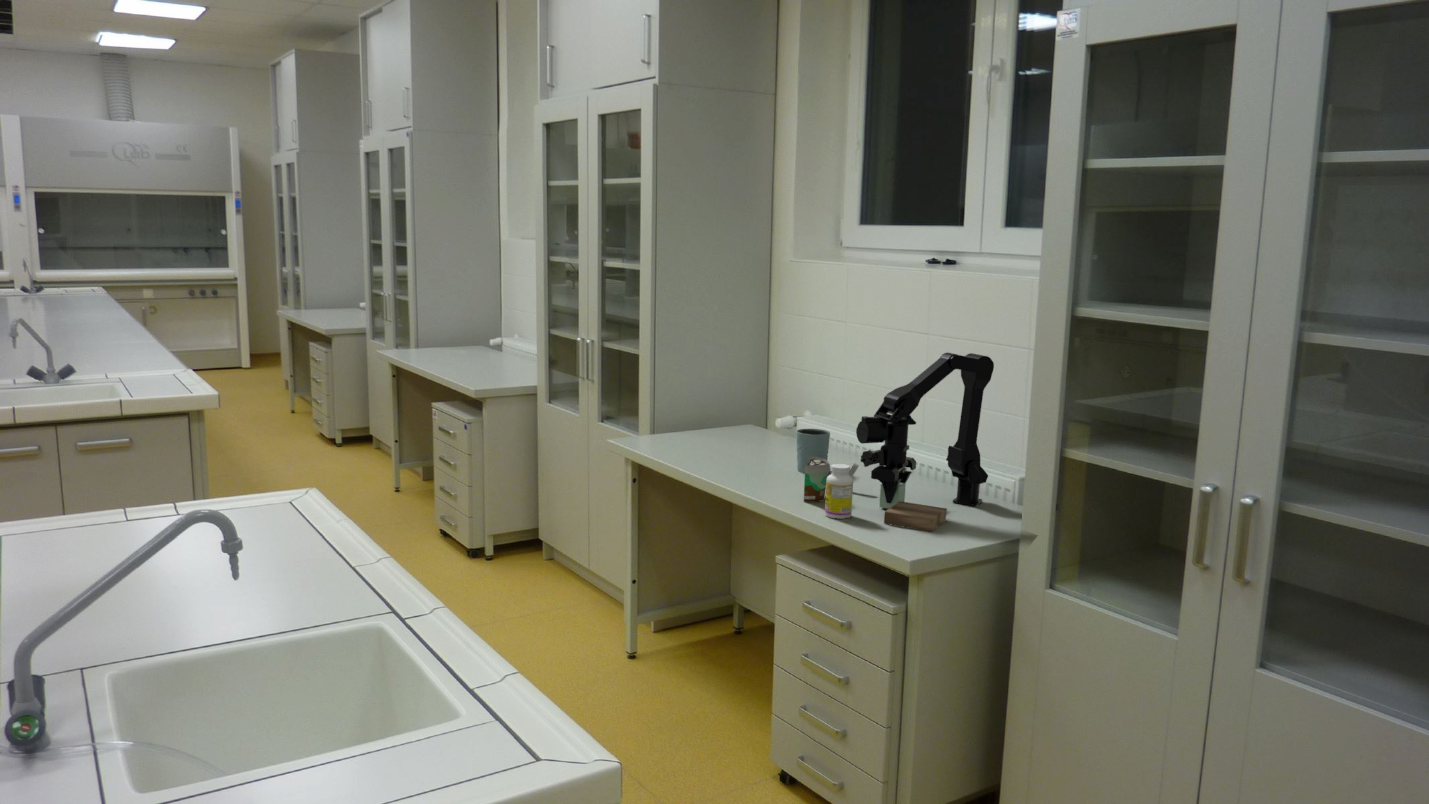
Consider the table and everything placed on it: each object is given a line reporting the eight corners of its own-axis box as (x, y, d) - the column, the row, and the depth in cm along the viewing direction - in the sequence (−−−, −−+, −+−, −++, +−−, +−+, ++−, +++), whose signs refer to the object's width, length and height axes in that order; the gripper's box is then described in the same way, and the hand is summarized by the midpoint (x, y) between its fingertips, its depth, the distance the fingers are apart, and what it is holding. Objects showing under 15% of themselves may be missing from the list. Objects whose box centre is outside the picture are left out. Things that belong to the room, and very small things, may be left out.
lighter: (830, 490, 279) (832, 461, 278) (832, 488, 280) (833, 460, 279) (856, 493, 276) (857, 464, 275) (857, 491, 278) (859, 463, 277)
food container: (826, 505, 263) (828, 467, 261) (803, 503, 264) (804, 465, 262) (830, 493, 275) (832, 457, 273) (808, 492, 276) (810, 456, 274)
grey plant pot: (811, 476, 294) (813, 436, 292) (787, 469, 302) (788, 430, 300) (835, 471, 301) (837, 432, 299) (810, 465, 308) (812, 426, 306)
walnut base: (899, 512, 258) (900, 501, 257) (945, 520, 252) (946, 508, 252) (883, 523, 247) (884, 511, 247) (931, 531, 242) (932, 519, 241)
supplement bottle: (827, 511, 257) (829, 461, 255) (853, 514, 255) (856, 464, 253) (822, 517, 251) (824, 467, 249) (848, 520, 249) (851, 469, 247)
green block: (885, 503, 265) (887, 480, 264) (904, 506, 263) (905, 483, 262) (879, 507, 261) (880, 484, 260) (898, 510, 258) (899, 487, 258)
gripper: (878, 432, 271) (874, 488, 273) (853, 443, 255) (850, 503, 257) (918, 437, 266) (914, 495, 268) (895, 449, 249) (892, 510, 252)
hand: (892, 500), depth 262 cm, fingers closed on green block, 5 cm apart
